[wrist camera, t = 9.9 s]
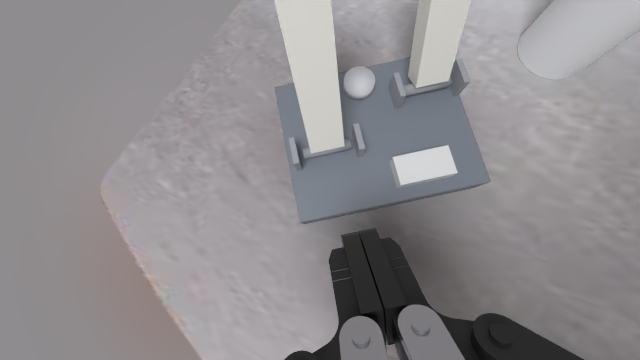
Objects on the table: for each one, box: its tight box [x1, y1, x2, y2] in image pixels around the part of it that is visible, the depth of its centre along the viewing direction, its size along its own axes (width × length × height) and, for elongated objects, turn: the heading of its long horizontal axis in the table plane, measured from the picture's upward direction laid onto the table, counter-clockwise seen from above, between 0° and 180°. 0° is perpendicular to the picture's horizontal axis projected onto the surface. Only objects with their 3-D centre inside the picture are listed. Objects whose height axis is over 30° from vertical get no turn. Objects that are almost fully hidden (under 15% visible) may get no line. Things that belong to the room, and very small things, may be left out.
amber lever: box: [274, 0, 352, 159], centre depth 18 cm, size 4×2×16 cm, turn 102°
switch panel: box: [275, 58, 491, 224], centre depth 26 cm, size 18×14×5 cm
